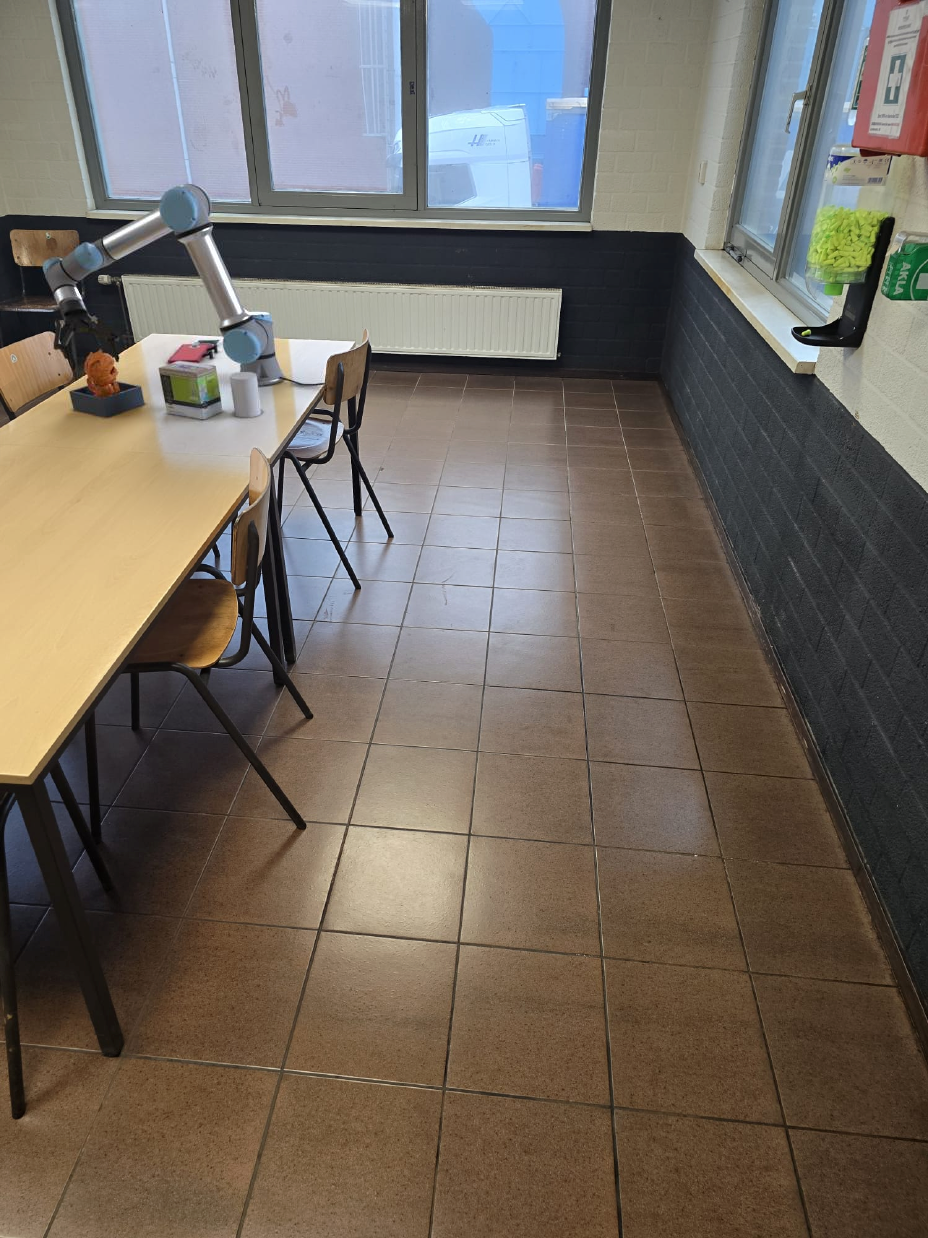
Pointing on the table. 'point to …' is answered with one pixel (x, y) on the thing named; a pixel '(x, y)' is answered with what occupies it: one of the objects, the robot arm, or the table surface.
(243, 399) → the cup
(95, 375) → the orange monster figurine
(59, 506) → the table surface
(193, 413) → the tea box
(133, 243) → the robot arm
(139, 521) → the table surface
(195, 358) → the red board with handle
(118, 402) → the crate
